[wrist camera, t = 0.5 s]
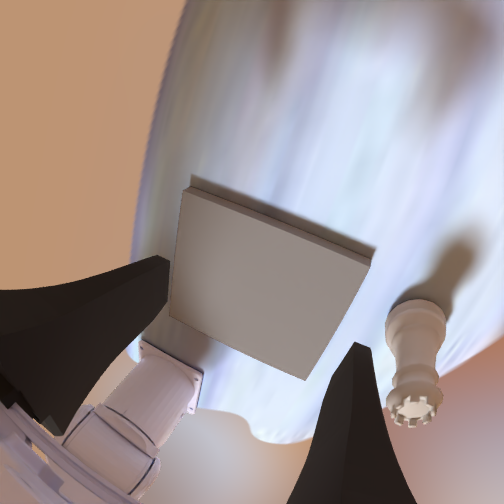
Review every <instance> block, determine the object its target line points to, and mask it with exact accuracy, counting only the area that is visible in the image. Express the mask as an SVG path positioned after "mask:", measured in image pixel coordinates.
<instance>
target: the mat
mask: <svg viewBox="0 0 504 504" xmlns="http://www.w3.org/2000/svg"><path fill="white" fill-rule="evenodd" d="M370 266H371V259H369V258H367V257H365V256H362V255H360V254H358V253H355V252H353V251H351V250H348V249H346V248H344V247H341V246H339V245H337V244H334V243H332V242H329V241H327V240H325V239H322V238H320V237H318V236H315V235H313V234H310V233H308V232H305V231H303V230H301V229H298V228H296V227H293V226H291V225H288V224H286V223H283V222H281V221H279V220H276V219H274V218H271V217H269V216H266V215H264V214H261V213H259V212H256V211H253V210H251V209H248V208H246V207H243V206H241V205H238V204H236V203H233V202H230V201H228V200H225V199H223V198H220V197H217V196H215V195H212V194H210V193H207V192H204V191H202V190H199V189H196V188H194V187H189V188H187V189H185V190H183V193H182V200H181V208H180V215H179V223H178V231H177V240H176V248H175V258H174V267H173V277H172V288H171V299H170V312H169V316H171V317H173V318H175V319H176V320H178V321H180V322H182V323H184V324H186V325H188V326H190V327H192V328H194V329H195V330H197V331H199V332H201V333H203V334H205V335H207V336H209V337H211V338H213V339H215V340H217V341H219V342H221V343H223V344H225V345H227V346H229V347H231V348H233V349H236V350H238V351H240V352H242V353H244V354H246V355H248V356H250V357H252V358H255V359H257V360H259V361H261V362H263V363H265V364H268V365H270V366H272V367H274V368H277V369H279V370H281V371H283V372H286V373H288V374H290V375H293V376H295V377H297V378H300V379H302V380H304V381H306V379H307V378H308V376H309V374H310V373H311V371H312V370H313V368H314V366H315V365H316V363H317V362H318V360H319V358H320V357H321V355H322V353H323V352H324V350H325V348H326V347H327V345H328V343H329V342H330V340H331V338H332V337H333V335H334V333H335V331H336V330H337V328H338V326H339V324H340V323H341V321H342V319H343V317H344V316H345V314H346V312H347V310H348V308H349V307H350V305H351V303H352V301H353V299H354V297H355V296H356V294H357V292H358V290H359V288H360V286H361V284H362V282H363V280H364V279H365V277H366V275H367V273H368V271H369V269H370Z"/></svg>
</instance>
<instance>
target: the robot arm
mask: <svg viewBox="0 0 504 504" xmlns="http://www.w3.org/2000/svg"><path fill="white" fill-rule="evenodd" d="M169 269H170V261H169V260H167V259H164V258H162V257H160V256H158V255H156V256H152V257H149V258H146V259H143V260H140V261H137V262H134V263H132V264H129V265H126V266H123V267H120V268H117V269H114V270H111V271H109V272H105V273H102V274H99V275H96V276H92V277H89V278H85V279H82V280H78V281H74V282H70V283H65V284H60V285H55V286H48V287H40V288H33V289H20V290H0V504H142V503H141V502H139V501H137V500H138V499H139V498H140V497H141V496H143V494H145V493H146V491H147V490H148V489H149V487H150V486H151V485H152V484H153V482H154V481H155V479H156V478H157V476H158V474H159V472H160V469H161V465H160V459H159V458H158V457H156V455H157V454H158V452H159V451H160V450H159V449H158V448H159V447H160V446H162V445H163V444H164V443H165V441H166V440H167V439H168V437H169V436H170V434H171V433H172V431H173V430H174V428H175V427H176V426H177V424H178V422H179V421H180V420H181V418H182V417H183V415H184V414H185V413H186V412H188V413H190V414H194V413H195V411H196V407H197V402H198V397H199V392H200V387H201V382H202V378H203V376H202V374H201V373H200V372H198V371H196V370H194V369H193V368H191V367H189V366H187V365H185V364H183V363H181V362H180V361H178V360H176V359H174V358H172V357H171V356H169V355H167V354H165V353H164V352H162V351H160V350H158V349H157V348H155V347H153V346H152V345H150V344H148V343H147V342H145V341H143V340H140V341H139V342H138V346H139V363H138V364H137V365H136V366H135V367H134V369H133V370H132V371H131V372H130V373H129V374H128V375H127V376H126V378H125V379H124V380H123V381H122V382H121V383H120V384H119V385H118V386H117V387H116V389H115V390H114V391H113V392H112V393H111V394H110V395H109V396H108V398H107V399H106V400H105V401H104V402H103V403H102V404H101V403H100V404H98V406H97V407H96V408H95V407H94V406H92V405H91V404H89V405H82V406H81V404H82V403H83V401H84V400H85V398H86V397H87V395H88V394H89V392H90V391H91V389H92V388H93V387H94V385H95V384H96V382H97V381H98V380H99V378H100V377H101V375H102V374H103V373H104V371H106V369H107V368H108V367H109V365H110V364H111V363H112V362H113V361H114V360H115V358H116V357H117V356H118V355H119V354H120V353H121V352H122V351H123V350H124V349H125V348H126V347H127V346H128V345H129V344H130V343H131V342H132V341H133V340H134V339H135V338H136V337H137V336H138V335H139V334H140V333H141V332H142V331H143V330H144V329H145V328H146V327H147V326H148V325H149V324H150V323H151V322H152V321H153V320H154V318H155V317H156V316H157V315H158V313H159V312H160V311H161V309H162V308H163V306H164V305H165V304H166V302H167V299H168V283H169ZM94 408H95V409H94ZM33 418H34V419H35V420H36V421H37V422H38V423H39V424H42V425H43V426H44V427H45V428H46V429H47V430H49V431H50V432H51V433H52V434H53V435H54V436H55V437H54V438H52V437H51V436H50V435H49V434H47V433H46V432H45V431H44V430H43V429H42V428H41V427H40V426H39V425H38V424H37V423H36V422H35V421H34V420H33ZM31 442H32V443H33V444H34V445H35V446H37V447H38V448H39V449H40V450H41V451H42V452H43V453H44V454H45V457H46V461H47V464H46V462H45V461H43V460H42V459H41V458H40V457H39V456H38V455H37V454H36V453H35V452H34V451H33V450H32V443H31ZM287 504H417V503H416V501H415V499H414V497H413V495H412V493H411V491H410V489H409V487H408V485H407V482H406V480H405V478H404V476H403V473H402V471H401V468H400V466H399V464H398V461H397V458H396V456H395V453H394V450H393V447H392V444H391V441H390V438H389V434H388V431H387V428H386V424H385V420H384V416H383V412H382V407H381V403H380V398H379V393H378V388H377V383H376V377H375V372H374V366H373V359H372V352H371V349H370V348H369V347H367V346H364V345H362V344H359V343H357V342H354V343H353V345H352V346H351V348H350V350H349V351H348V353H347V354H346V356H345V357H344V359H343V360H342V362H341V363H340V365H339V366H338V368H337V369H336V371H335V372H334V374H333V375H332V377H331V380H330V383H329V385H328V388H327V391H326V394H325V396H324V399H323V402H322V406H321V410H320V414H319V418H318V421H317V425H316V429H315V433H314V436H313V440H312V443H311V447H310V450H309V454H308V456H307V459H306V462H305V464H304V467H303V469H302V471H301V474H300V476H299V478H298V481H297V483H296V485H295V487H294V489H293V491H292V493H291V495H290V497H289V499H288V501H287Z"/></svg>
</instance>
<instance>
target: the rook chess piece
mask: <svg viewBox="0 0 504 504" xmlns="http://www.w3.org/2000/svg"><path fill="white" fill-rule="evenodd" d="M445 336H446V317H445V315H444V313H443V311H442V309H441V308H440V307H438V306H437V305H436V304H435V303H433V302H430V301H426V300H423V299H416V300H408V301H406V302H404V303H402V304H399V305H397V306H396V307H395V308H394V309H393V310H392V311H391V312H390V313H389V314H388V317H387V319H386V322H385V337H386V343H387V345H388V347H389V349H390V350H391V352H392V353H393V355H394V357H395V359H396V373H395V375H394V377H393V378H392V385H393V387H394V389H393V390H392V391H390V393H389V395H388V396H387V398H386V406H387V407H388V409H389V410H390V411H391V418H395V421H394V423H396V424H397V425H399V426H401V425H402V424H403V421H404V420H406V421H409V424H408V427H417V421H418V420H421V419H423V421H422V423H423V424H424V425H426V424H427V423H429V422H431V421H432V416H436V412H437V408H438V407H439V406H440V404H441V403H442V400H443V393H442V391H441V389H440V388H439V387H437V386H436V384H437V383H438V379H439V375H438V373H437V371H436V370H435V362H436V354H437V353H438V351H439V349H440V347H441V345H442V344H443V342H444V340H445Z"/></svg>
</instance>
